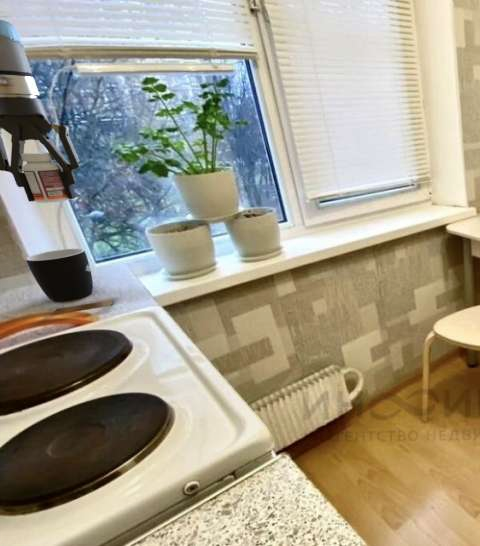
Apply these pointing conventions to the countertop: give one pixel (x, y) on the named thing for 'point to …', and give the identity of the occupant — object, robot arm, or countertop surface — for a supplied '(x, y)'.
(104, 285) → the countertop surface
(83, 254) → the mug
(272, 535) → the countertop surface
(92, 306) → the cork mat
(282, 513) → the countertop surface
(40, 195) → the pill bottle
